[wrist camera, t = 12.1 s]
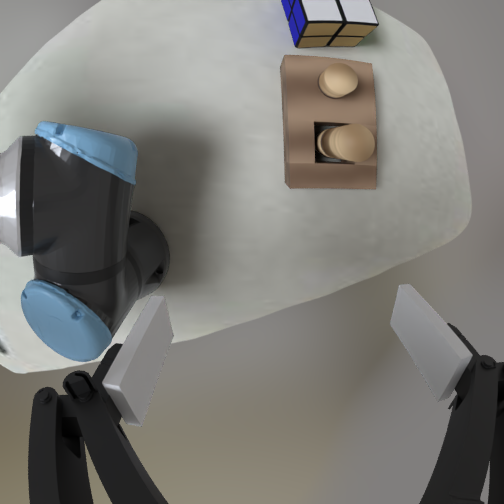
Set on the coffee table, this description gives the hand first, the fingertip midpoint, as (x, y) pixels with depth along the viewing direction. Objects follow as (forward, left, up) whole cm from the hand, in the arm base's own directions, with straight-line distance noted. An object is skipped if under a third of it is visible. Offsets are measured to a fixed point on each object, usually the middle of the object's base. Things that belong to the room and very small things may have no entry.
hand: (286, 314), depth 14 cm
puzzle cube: (+22, +23, -29) cm, 43 cm away
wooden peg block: (+14, +7, -29) cm, 32 cm away
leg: (+12, +4, -29) cm, 31 cm away
